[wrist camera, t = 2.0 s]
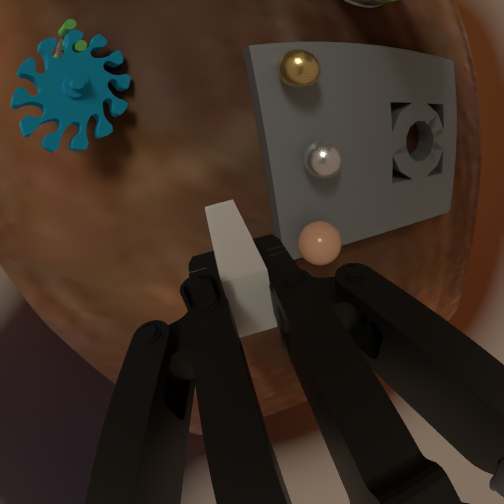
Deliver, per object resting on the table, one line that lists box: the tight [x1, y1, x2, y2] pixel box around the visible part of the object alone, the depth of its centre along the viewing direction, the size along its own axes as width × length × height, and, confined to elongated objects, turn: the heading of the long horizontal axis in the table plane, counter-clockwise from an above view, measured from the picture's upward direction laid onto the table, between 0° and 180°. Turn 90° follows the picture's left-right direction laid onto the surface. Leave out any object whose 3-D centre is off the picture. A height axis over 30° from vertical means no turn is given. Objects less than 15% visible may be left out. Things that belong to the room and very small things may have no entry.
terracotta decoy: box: [298, 221, 342, 265], centre depth 25 cm, size 4×4×4 cm
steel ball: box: [303, 140, 343, 179], centre depth 21 cm, size 3×3×3 cm
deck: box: [242, 42, 457, 260], centre depth 24 cm, size 24×20×2 cm
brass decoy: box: [277, 49, 321, 89], centre depth 17 cm, size 3×3×3 cm
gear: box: [11, 19, 130, 153], centre depth 15 cm, size 11×6×10 cm
